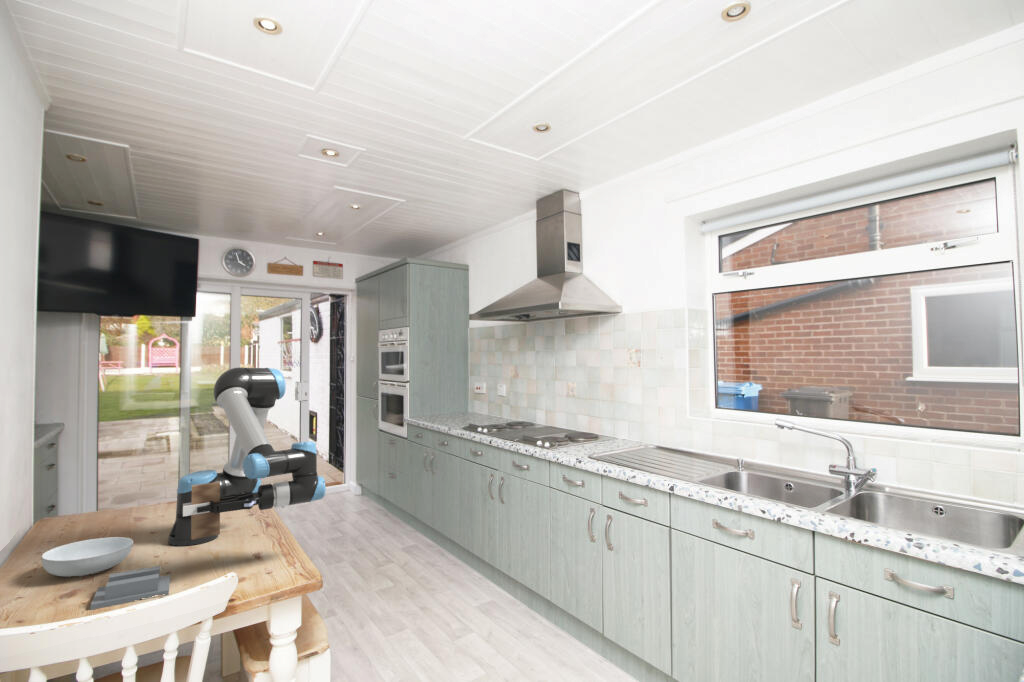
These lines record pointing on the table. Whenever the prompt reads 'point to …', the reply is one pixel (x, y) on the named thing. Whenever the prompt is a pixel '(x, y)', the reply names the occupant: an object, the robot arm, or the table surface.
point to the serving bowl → (86, 556)
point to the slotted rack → (131, 587)
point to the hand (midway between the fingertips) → (183, 510)
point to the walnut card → (206, 521)
